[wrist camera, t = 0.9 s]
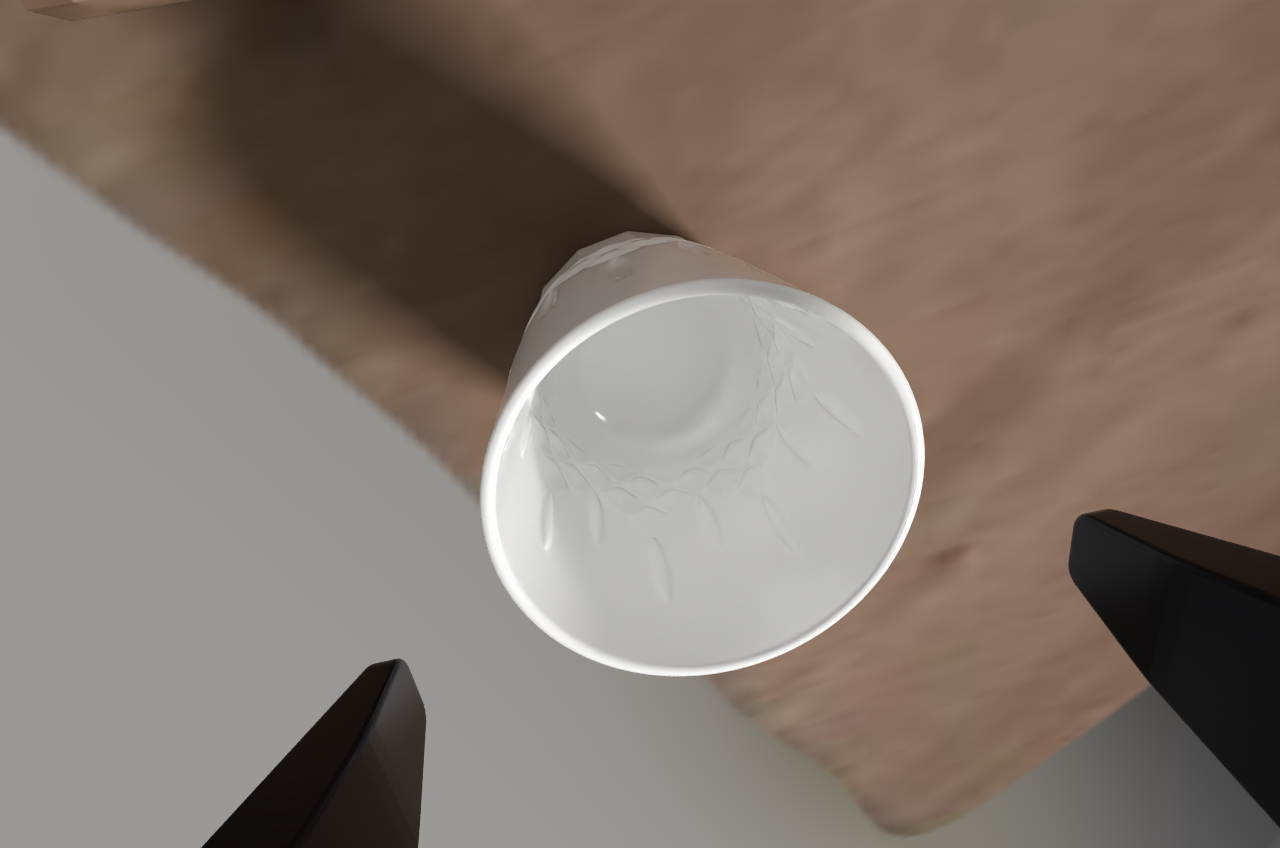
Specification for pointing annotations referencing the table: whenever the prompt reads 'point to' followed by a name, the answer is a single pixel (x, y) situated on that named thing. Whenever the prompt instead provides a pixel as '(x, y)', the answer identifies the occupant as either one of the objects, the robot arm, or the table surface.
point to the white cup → (694, 460)
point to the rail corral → (90, 7)
